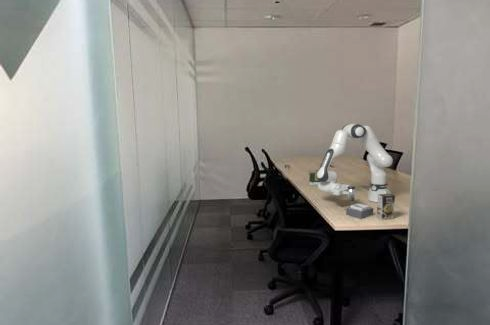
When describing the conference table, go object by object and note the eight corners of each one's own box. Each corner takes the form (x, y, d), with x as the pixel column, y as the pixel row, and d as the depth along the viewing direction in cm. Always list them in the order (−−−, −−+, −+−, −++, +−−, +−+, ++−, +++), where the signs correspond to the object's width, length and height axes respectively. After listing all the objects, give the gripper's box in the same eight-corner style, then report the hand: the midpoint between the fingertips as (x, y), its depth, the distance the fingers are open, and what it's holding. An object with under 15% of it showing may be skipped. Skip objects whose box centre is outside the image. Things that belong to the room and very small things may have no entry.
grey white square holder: (358, 211, 243) (358, 202, 242) (373, 215, 233) (373, 205, 232) (346, 214, 235) (346, 205, 234) (361, 219, 225) (361, 209, 224)
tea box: (324, 183, 339) (324, 169, 337) (325, 185, 329) (325, 170, 327) (308, 183, 340) (309, 169, 338) (309, 185, 331) (310, 170, 328)
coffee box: (382, 220, 222) (383, 196, 220) (376, 217, 228) (377, 194, 226) (394, 219, 224) (395, 195, 222) (388, 216, 230) (389, 193, 228)
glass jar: (350, 198, 250) (350, 185, 248) (356, 200, 246) (356, 186, 244) (345, 200, 247) (346, 186, 245) (351, 201, 242) (352, 188, 241)
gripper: (327, 187, 249) (343, 190, 238) (344, 183, 261) (360, 185, 250) (327, 195, 250) (343, 199, 239) (344, 191, 262) (360, 194, 251)
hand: (352, 192), depth 245 cm, fingers closed on glass jar, 5 cm apart
